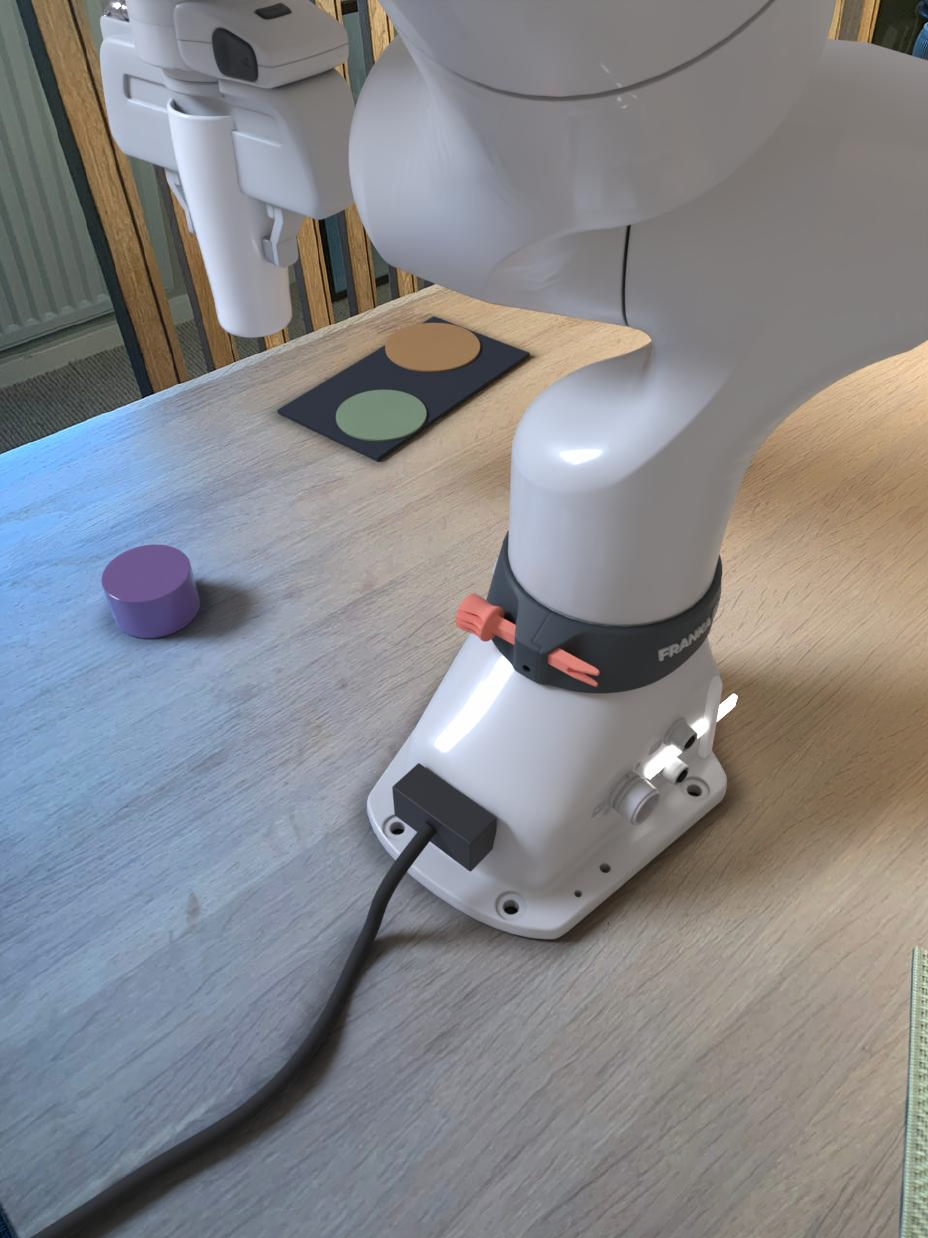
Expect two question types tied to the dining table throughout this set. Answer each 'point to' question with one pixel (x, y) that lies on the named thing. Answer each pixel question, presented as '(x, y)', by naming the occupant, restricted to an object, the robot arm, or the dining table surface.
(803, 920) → the dining table surface
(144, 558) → the purple cylinder puck
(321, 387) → the placemat
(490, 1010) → the dining table surface
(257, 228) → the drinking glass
